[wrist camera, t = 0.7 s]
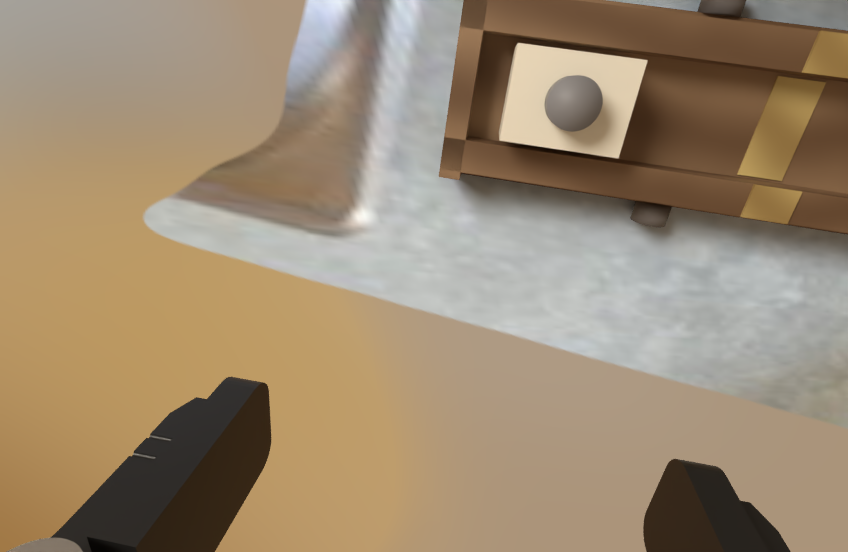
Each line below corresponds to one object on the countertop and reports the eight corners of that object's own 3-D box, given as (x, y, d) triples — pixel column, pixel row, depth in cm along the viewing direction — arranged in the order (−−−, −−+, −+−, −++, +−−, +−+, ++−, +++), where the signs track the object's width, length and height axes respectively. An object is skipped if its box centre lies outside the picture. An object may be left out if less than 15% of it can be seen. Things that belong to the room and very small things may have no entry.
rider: (514, 47, 25) (519, 40, 20) (625, 62, 25) (658, 59, 20) (498, 132, 27) (499, 144, 22) (601, 147, 27) (626, 163, 22)
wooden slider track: (474, -37, 25) (471, -55, 22) (979, 24, 23) (1060, 16, 20) (441, 184, 30) (435, 197, 27) (855, 250, 28) (903, 273, 25)
